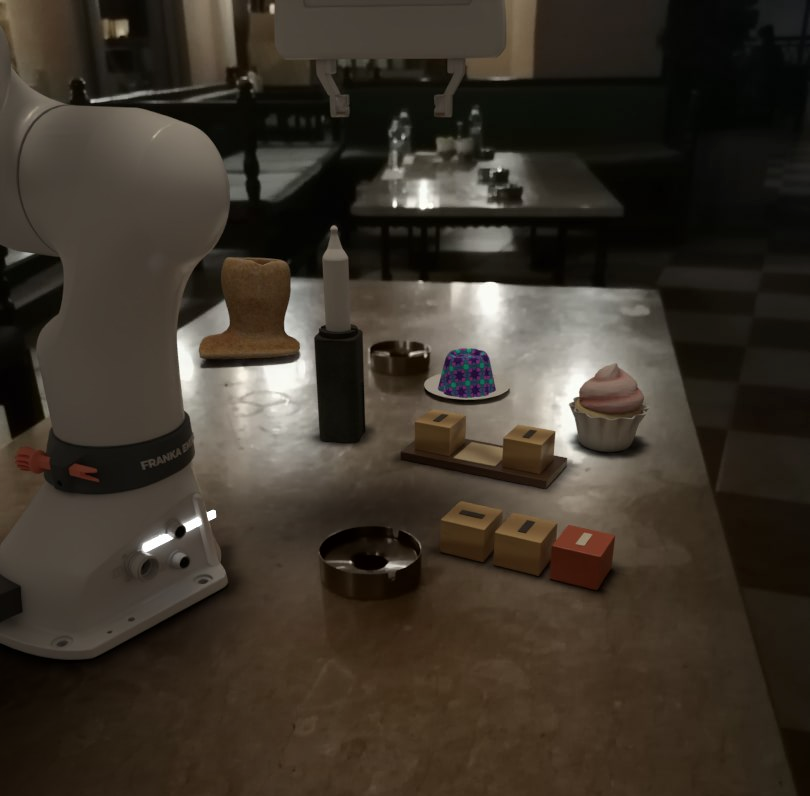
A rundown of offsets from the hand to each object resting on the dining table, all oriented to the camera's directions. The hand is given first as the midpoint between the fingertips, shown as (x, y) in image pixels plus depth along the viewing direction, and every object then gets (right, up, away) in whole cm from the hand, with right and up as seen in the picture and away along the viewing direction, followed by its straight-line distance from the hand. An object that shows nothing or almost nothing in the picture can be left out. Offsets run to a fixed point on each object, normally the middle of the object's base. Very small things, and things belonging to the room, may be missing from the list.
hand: (391, 117), depth 82 cm
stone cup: (-23, -9, +60) cm, 65 cm away
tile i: (+8, -39, +6) cm, 40 cm away
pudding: (+10, -17, +45) cm, 49 cm away
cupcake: (+26, -27, +28) cm, 46 cm away
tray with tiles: (+10, -29, +23) cm, 39 cm away
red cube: (+17, -41, +1) cm, 45 cm away
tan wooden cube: (+12, -40, +3) cm, 42 cm away
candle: (-7, -25, +31) cm, 41 cm away
